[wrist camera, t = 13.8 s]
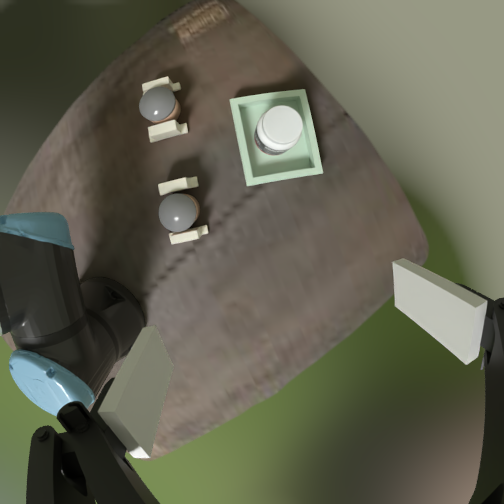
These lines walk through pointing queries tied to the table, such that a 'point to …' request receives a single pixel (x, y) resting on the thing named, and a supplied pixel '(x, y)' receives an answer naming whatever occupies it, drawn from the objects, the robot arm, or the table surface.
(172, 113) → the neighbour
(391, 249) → the table surface
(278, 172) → the tray
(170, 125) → the cream flat pieces
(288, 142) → the pill bottle
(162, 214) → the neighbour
